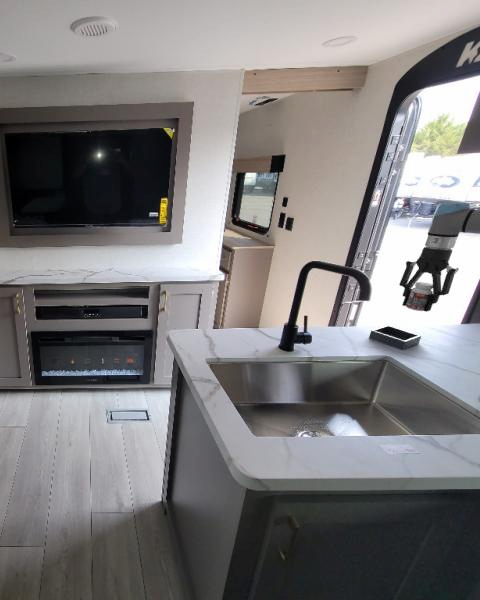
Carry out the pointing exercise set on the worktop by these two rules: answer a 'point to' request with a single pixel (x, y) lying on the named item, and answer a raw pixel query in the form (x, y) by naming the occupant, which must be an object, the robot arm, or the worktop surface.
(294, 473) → the worktop surface
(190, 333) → the worktop surface
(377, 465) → the worktop surface
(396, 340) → the tray
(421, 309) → the pill bottle
